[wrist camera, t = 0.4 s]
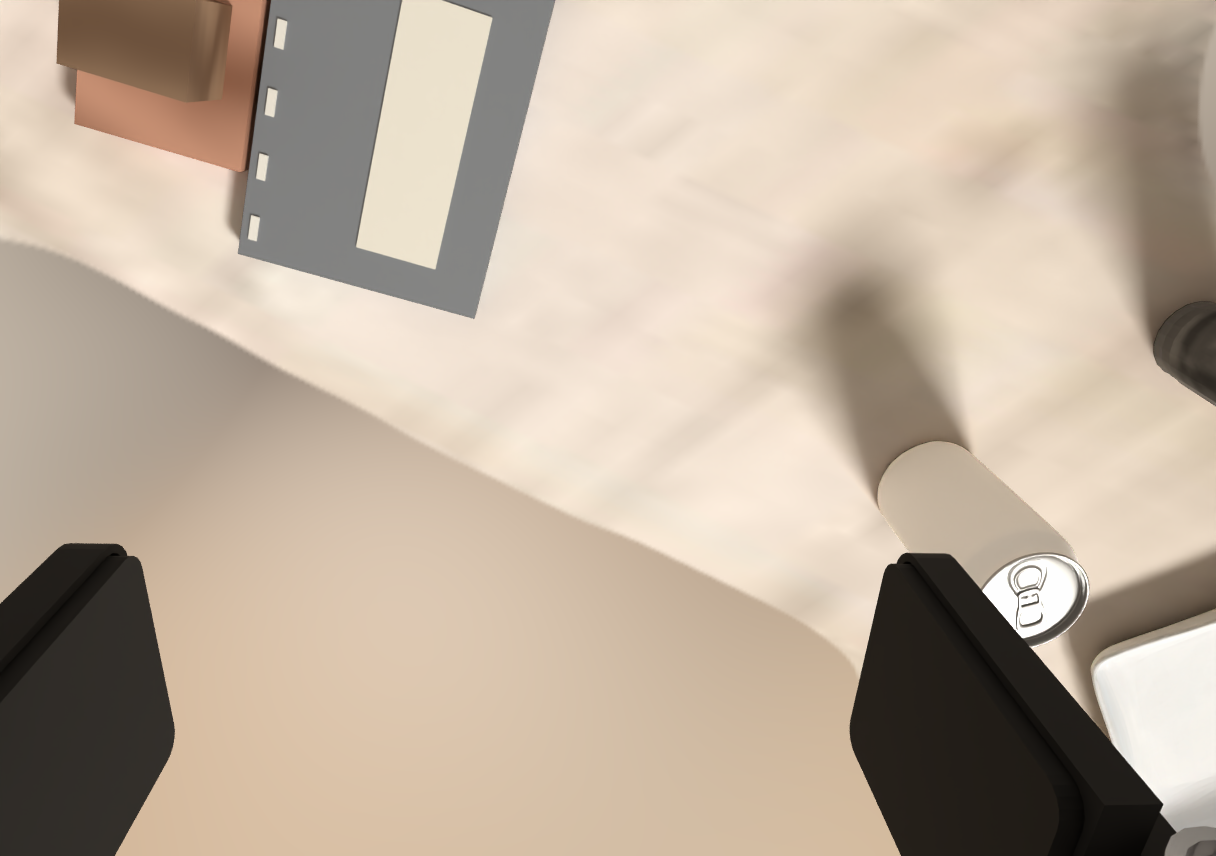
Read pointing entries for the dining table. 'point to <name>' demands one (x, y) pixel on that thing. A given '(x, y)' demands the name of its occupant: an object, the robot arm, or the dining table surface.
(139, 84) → the wooden t-shaped block
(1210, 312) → the beverage cup
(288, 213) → the board
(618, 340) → the dining table surface
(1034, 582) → the can
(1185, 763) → the salad plate
